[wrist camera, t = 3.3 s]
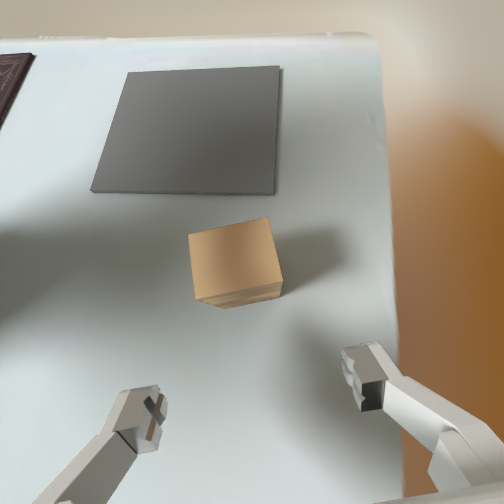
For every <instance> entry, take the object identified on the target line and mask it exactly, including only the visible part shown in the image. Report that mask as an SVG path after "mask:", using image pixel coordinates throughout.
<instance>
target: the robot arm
mask: <svg viewBox="0 0 504 504" xmlns="http://www.w3.org/2000/svg"><path fill="white" fill-rule="evenodd" d="M341 355H342V357H343V359H342V360H341V364H342V370H343V373H344V376H345V379H346V381H347V383H348V385H350V386H351V387H352V388H353V396H354V398H355V400H356V403H357V405H358V407H359V409H360V411H361V412H364V411H371V410H377V409H383V411H384V412H386V413H387V414H388V415H389V416H390V417H391V418H392V419H394V420H395V421H396V422H397V423H398V424H399V425H401V426H402V427H403V428H404V429H405V430H406V431H407V432H409V433H410V434H411V435H412V436H413V437H414V438H415V439H417V440H418V441H419V442H420V443H421V444H422V445H423V446H425V447H426V448H427V449H428V450H429V451H430V452H432V453H433V455H432V459H431V462H430V465H429V469H428V474H429V475H430V477H431V479H432V481H433V482H434V484H435V486H436V488H437V489H438V491H439V492H437V493H431V494H426V495H420V496H414V497H408V498H403V499H397V500H391V501H386V502H380V503H374V504H504V444H503V442H502V441H501V440H500V439H499V438H498V437H497V436H496V434H495V433H494V432H493V431H492V430H491V429H490V428H489V426H488V425H487V424H486V423H484V422H483V421H481V420H479V419H478V418H476V417H475V416H473V415H471V414H470V413H468V412H466V411H465V410H463V409H461V408H460V407H458V406H456V405H455V404H453V403H451V402H450V401H448V400H446V399H445V398H443V397H442V396H440V395H438V394H437V393H435V392H433V391H432V390H430V389H428V388H427V387H425V386H423V385H421V384H420V383H418V382H417V381H415V380H413V379H412V378H410V377H409V376H403V375H402V373H401V372H400V371H399V369H398V368H397V366H396V365H395V364H394V362H393V361H392V359H391V358H390V357H389V355H388V354H387V353H386V351H385V350H384V348H383V347H382V346H381V344H380V343H379V342H377V341H374V342H369V343H365V344H364V343H363V344H358V345H353V346H349V347H344V348H342V349H341ZM159 391H160V388H159V387H158V385H152V386H146V387H140V388H135V389H129V390H124V391H121V392H120V393H119V394H118V396H117V398H116V400H115V402H114V404H113V407H112V409H111V411H110V413H109V415H108V417H107V420H106V422H105V424H104V426H103V428H102V430H101V433H100V435H96V436H95V437H94V438H93V439H92V440H91V441H90V442H89V443H88V444H87V446H86V447H85V448H84V449H83V450H82V451H81V452H80V453H79V454H78V455H77V456H76V457H75V458H74V459H73V460H72V462H71V463H70V464H69V465H68V466H67V467H66V468H65V469H64V470H63V471H62V472H61V473H60V474H59V475H58V476H57V478H56V479H55V480H54V481H53V482H52V483H51V484H50V485H49V486H48V487H47V488H46V489H45V490H44V491H43V493H42V494H41V495H40V496H39V497H38V498H37V499H36V500H35V501H34V502H33V503H32V504H106V503H107V502H108V500H109V499H110V497H111V496H112V494H113V493H114V491H115V490H116V488H117V487H118V485H119V483H120V482H121V480H122V479H123V477H124V476H125V474H126V473H127V471H128V470H129V468H130V467H131V465H132V464H133V462H134V461H135V459H136V457H137V455H138V454H142V453H147V452H151V451H156V450H158V446H159V442H160V439H161V435H162V429H161V426H160V425H161V424H162V423H163V422H164V420H165V419H166V414H167V400H166V398H165V396H164V395H163V394H160V393H159Z"/></svg>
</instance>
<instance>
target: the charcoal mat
mask: <svg viewBox="0 0 504 504" xmlns="http://www.w3.org/2000/svg"><path fill="white" fill-rule="evenodd" d="M279 68H280V66H258V67H236V68H214V69H192V70H171V71H149V72H128V75H127V78H126V81H125V84H124V87H123V90H122V93H121V96H120V99H119V103H118V106H117V109H116V112H115V115H114V118H113V121H112V124H111V127H110V130H109V133H108V136H107V140H106V143H105V146H104V149H103V152H102V155H101V158H100V161H99V164H98V167H97V170H96V173H95V177H94V180H93V183H92V186H91V189H90V191H92V192H93V193H148V194H221V195H274V175H275V154H276V133H277V111H278V90H279Z"/></svg>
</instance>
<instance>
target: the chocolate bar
mask: <svg viewBox="0 0 504 504" xmlns="http://www.w3.org/2000/svg"><path fill="white" fill-rule="evenodd" d="M33 58H34V55H33V54H32V53H17V54H2V55H0V125H1V123H2V121H3V119H4V117H5V115H6V113H7V111H8V109H9V107H10V105H11V103H12V101H13V99H14V97H15V95H16V93H17V91H18V89H19V87H20V85H21V83H22V80H23V78H24V76H25V74H26V72H27V70H28V68H29V66H30V64H31V62H32V60H33Z"/></svg>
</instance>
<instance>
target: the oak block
mask: <svg viewBox="0 0 504 504" xmlns="http://www.w3.org/2000/svg"><path fill="white" fill-rule="evenodd" d="M188 240H189V249H190V258H191V267H192V276H193V285H194V294H195V300H198V301H202V302H205V303H208V304H211V305H214V306H217V307H220V308H223V309H227V308H231V307H236V306H241V305H246V304H251V303H256V302H260V301H265V300H270V299H275V298H279V297H280V293H281V288H282V284H283V278H282V274H281V270H280V265H279V261H278V257H277V253H276V249H275V245H274V240H273V236H272V232H271V228H270V224H269V220H268V217H266V218H262V219H257V220H252V221H248V222H243V223H238V224H234V225H229V226H224V227H220V228H215V229H211V230H206V231H201V232H197V233H192V234H188Z"/></svg>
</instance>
